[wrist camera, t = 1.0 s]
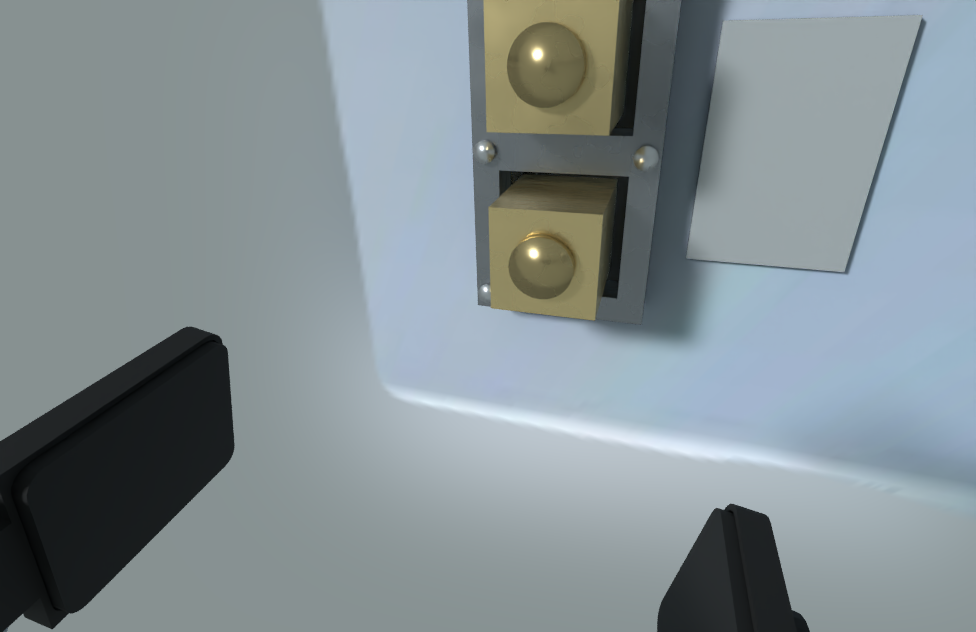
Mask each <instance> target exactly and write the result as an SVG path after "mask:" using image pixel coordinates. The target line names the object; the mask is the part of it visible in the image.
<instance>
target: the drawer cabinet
mask: <svg viewBox="0 0 976 632" xmlns="http://www.w3.org/2000/svg"><path fill="white" fill-rule="evenodd" d="M467 3H468V32H469V60H470V89H471V117H472V146H473V174H474V202H475V231H476V259H477V288H478V305H482V306H490V307H491V292H490V249H489V206H490V205H491V204H492V203H493V202H495V201H496V200H497V199H498V198H499V197H500V196H501V195H502V194H503V193H504V192H505V191H506V190H507V189H508V188H509V187H510V186H511V171H522V172H543V173H564V174H585V175H606V176H626V177H629V183H628V193H627V203H626V214H625V224H624V234H623V245H622V255H621V265H620V275H619V281H612V280H607V281H606V284H605V288H604V291H603V294H602V298H601V301H600V305H599V308H598V312H597V315H596V319H598V320H606V321H614V322H623V323H631V324H639V325H641V323H642V316H643V308H644V300H645V292H646V284H647V276H648V268H649V260H650V252H651V243H652V235H653V227H654V219H655V211H656V203H657V195H658V187H659V179H660V170H661V162H662V154H663V146H664V138H665V130H666V122H667V114H668V106H669V98H670V89H671V81H672V73H673V65H674V57H675V49H676V41H677V33H678V25H679V16H680V8H681V0H646V8H645V18H644V29H643V39H642V49H641V60H640V70H639V80H638V90H637V101H636V111H635V121H634V128H614V129H613V130H612V132H611V133H610V135H609V136H604V135H569V134H534V133H498V132H487V128H486V85H485V42H484V0H467Z"/></svg>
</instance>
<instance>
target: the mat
mask: <svg viewBox="0 0 976 632" xmlns="http://www.w3.org/2000/svg"><path fill="white" fill-rule="evenodd" d="M922 16H923V15H908V16H872V17H837V18H801V19H765V20H729V21H723V23H722V29H721V36H720V42H719V48H718V55H717V61H716V68H715V74H714V80H713V87H712V93H711V100H710V106H709V112H708V119H707V125H706V132H705V138H704V144H703V151H702V157H701V164H700V170H699V176H698V183H697V189H696V196H695V202H694V208H693V215H692V221H691V228H690V234H689V240H688V247H687V253H686V259H697V260H708V261H720V262H732V263H743V264H755V265H766V266H778V267H790V268H801V269H813V270H825V271H836V272H844V271H845V268H846V265H847V261H848V258H849V255H850V252H851V248H852V245H853V242H854V239H855V235H856V232H857V229H858V225H859V222H860V219H861V216H862V212H863V209H864V206H865V203H866V199H867V196H868V193H869V189H870V186H871V183H872V180H873V176H874V173H875V170H876V166H877V163H878V160H879V157H880V153H881V150H882V147H883V144H884V140H885V137H886V134H887V130H888V127H889V124H890V121H891V117H892V114H893V111H894V108H895V104H896V101H897V98H898V94H899V91H900V88H901V85H902V81H903V78H904V75H905V72H906V68H907V65H908V62H909V58H910V55H911V52H912V49H913V45H914V42H915V39H916V35H917V32H918V29H919V26H920V22H921V19H922Z"/></svg>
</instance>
